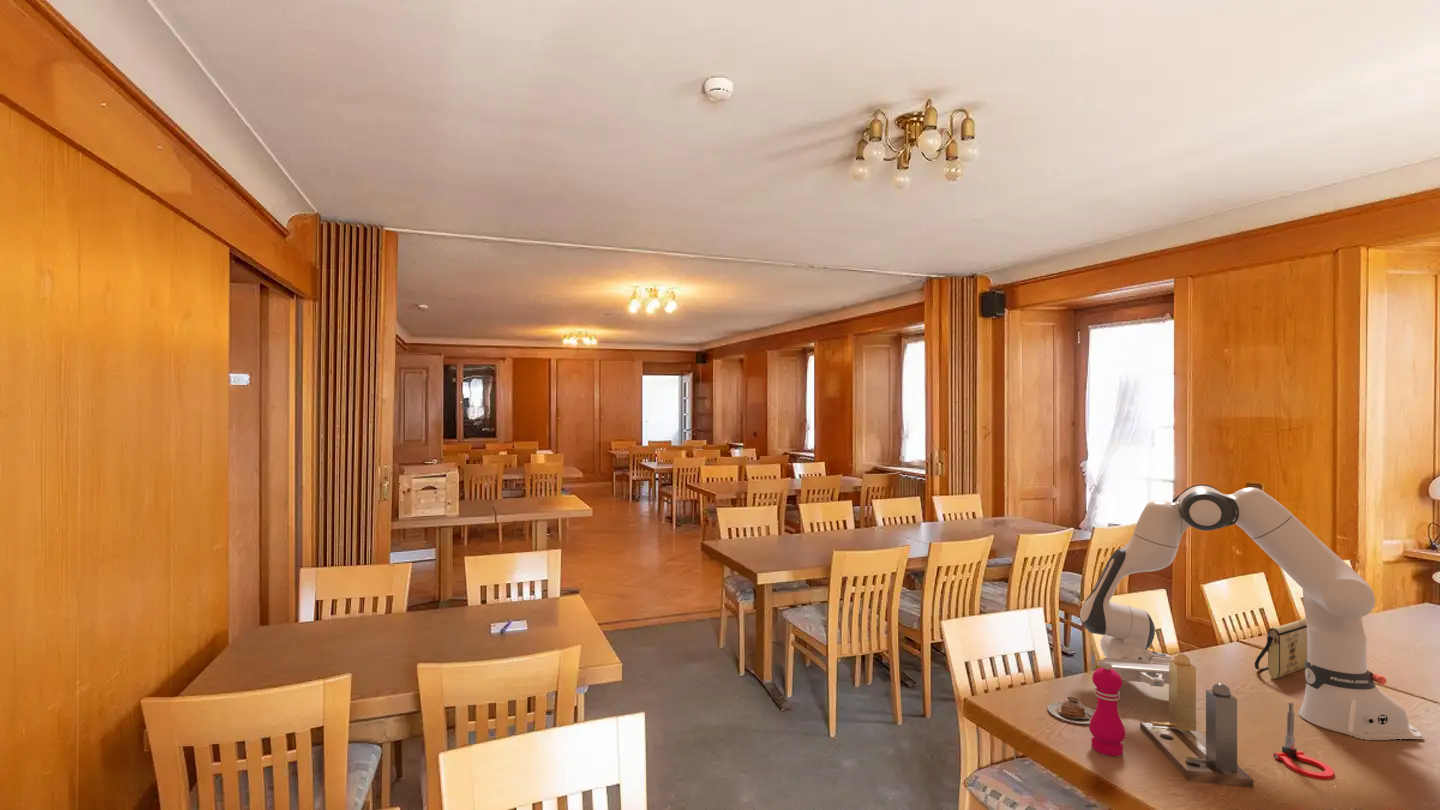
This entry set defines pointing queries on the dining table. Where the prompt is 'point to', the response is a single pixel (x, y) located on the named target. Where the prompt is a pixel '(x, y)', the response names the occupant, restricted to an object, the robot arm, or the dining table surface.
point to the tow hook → (1299, 753)
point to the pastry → (1071, 710)
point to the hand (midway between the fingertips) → (1157, 683)
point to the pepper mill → (1107, 712)
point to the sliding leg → (1181, 695)
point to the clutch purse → (1285, 649)
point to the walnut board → (1217, 776)
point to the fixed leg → (1220, 730)
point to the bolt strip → (1179, 747)
